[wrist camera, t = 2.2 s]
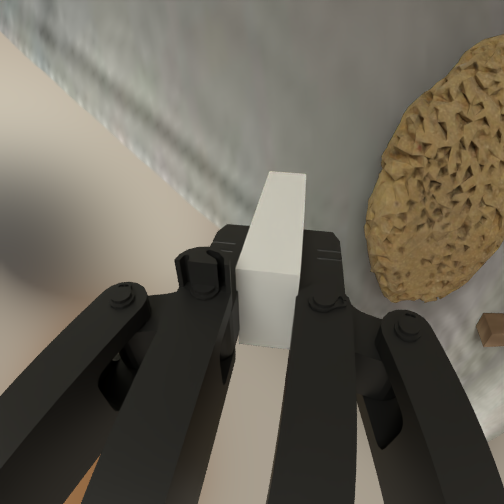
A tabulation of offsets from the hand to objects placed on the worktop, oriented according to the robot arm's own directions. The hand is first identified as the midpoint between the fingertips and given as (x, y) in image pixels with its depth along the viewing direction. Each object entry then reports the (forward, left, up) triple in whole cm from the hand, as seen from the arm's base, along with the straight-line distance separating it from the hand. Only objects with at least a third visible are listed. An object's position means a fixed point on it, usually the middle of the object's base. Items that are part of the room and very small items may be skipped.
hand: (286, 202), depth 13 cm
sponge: (0, +12, -10) cm, 15 cm away
